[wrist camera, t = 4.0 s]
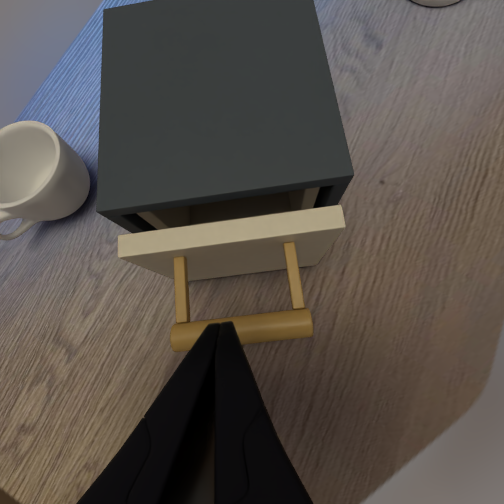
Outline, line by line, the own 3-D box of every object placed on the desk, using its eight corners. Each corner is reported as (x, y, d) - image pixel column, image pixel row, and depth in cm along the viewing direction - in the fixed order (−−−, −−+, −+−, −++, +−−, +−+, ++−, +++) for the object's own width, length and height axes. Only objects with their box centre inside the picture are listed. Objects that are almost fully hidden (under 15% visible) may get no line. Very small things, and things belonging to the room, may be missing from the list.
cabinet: (317, 241, 23) (354, 174, 12) (176, 260, 24) (95, 211, 13) (294, 111, 27) (306, -29, 16) (170, 130, 27) (103, 8, 17)
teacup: (54, 149, 28) (3, 110, 23) (116, 170, 27) (78, 134, 21) (2, 235, 26) (-67, 215, 21) (67, 262, 25) (11, 247, 20)
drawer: (328, 326, 21) (369, 333, 12) (183, 343, 21) (115, 361, 12) (293, 134, 25) (304, 30, 16) (174, 152, 26) (120, 62, 17)
